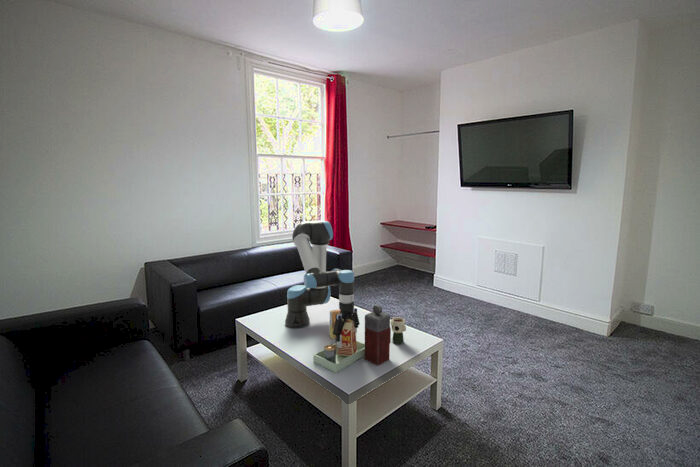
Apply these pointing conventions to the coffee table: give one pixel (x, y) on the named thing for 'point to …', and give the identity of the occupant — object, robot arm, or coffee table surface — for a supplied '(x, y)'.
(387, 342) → the toy vending machine
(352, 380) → the coffee table surface
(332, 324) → the candy box
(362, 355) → the pale green tray
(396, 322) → the character mug
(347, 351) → the milk carton
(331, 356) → the coffee tin
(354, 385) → the coffee table surface
